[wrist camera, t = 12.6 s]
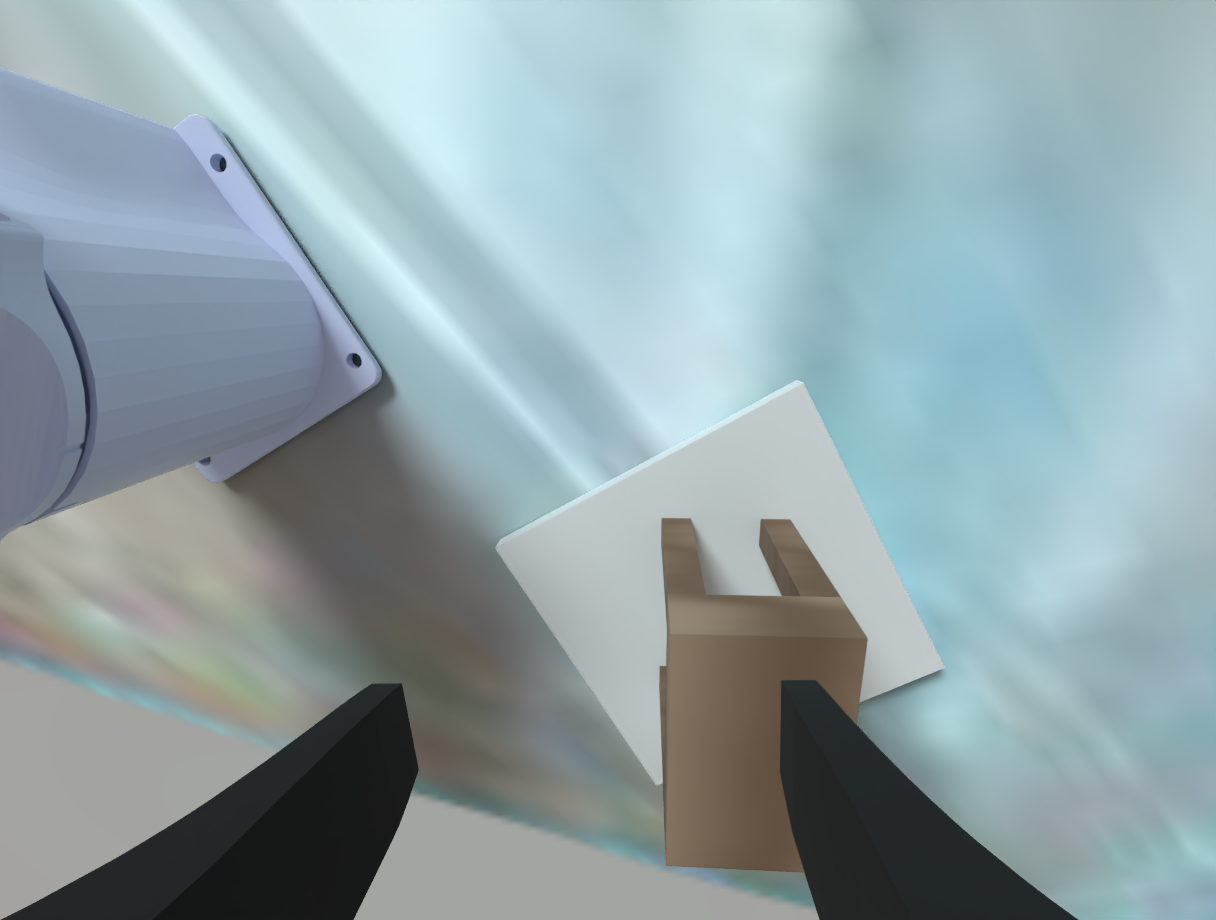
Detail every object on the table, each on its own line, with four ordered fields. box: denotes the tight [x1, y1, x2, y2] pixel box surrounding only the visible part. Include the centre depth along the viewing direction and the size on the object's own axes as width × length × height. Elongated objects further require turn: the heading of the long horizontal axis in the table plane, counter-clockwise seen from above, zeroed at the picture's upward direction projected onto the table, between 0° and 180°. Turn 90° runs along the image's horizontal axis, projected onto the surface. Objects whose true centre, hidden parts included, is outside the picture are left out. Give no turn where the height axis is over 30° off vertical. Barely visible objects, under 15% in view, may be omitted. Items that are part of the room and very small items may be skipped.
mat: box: [495, 380, 945, 785], centre depth 21 cm, size 12×12×1 cm
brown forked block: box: [659, 518, 868, 872], centre depth 17 cm, size 4×7×7 cm, turn 1°
